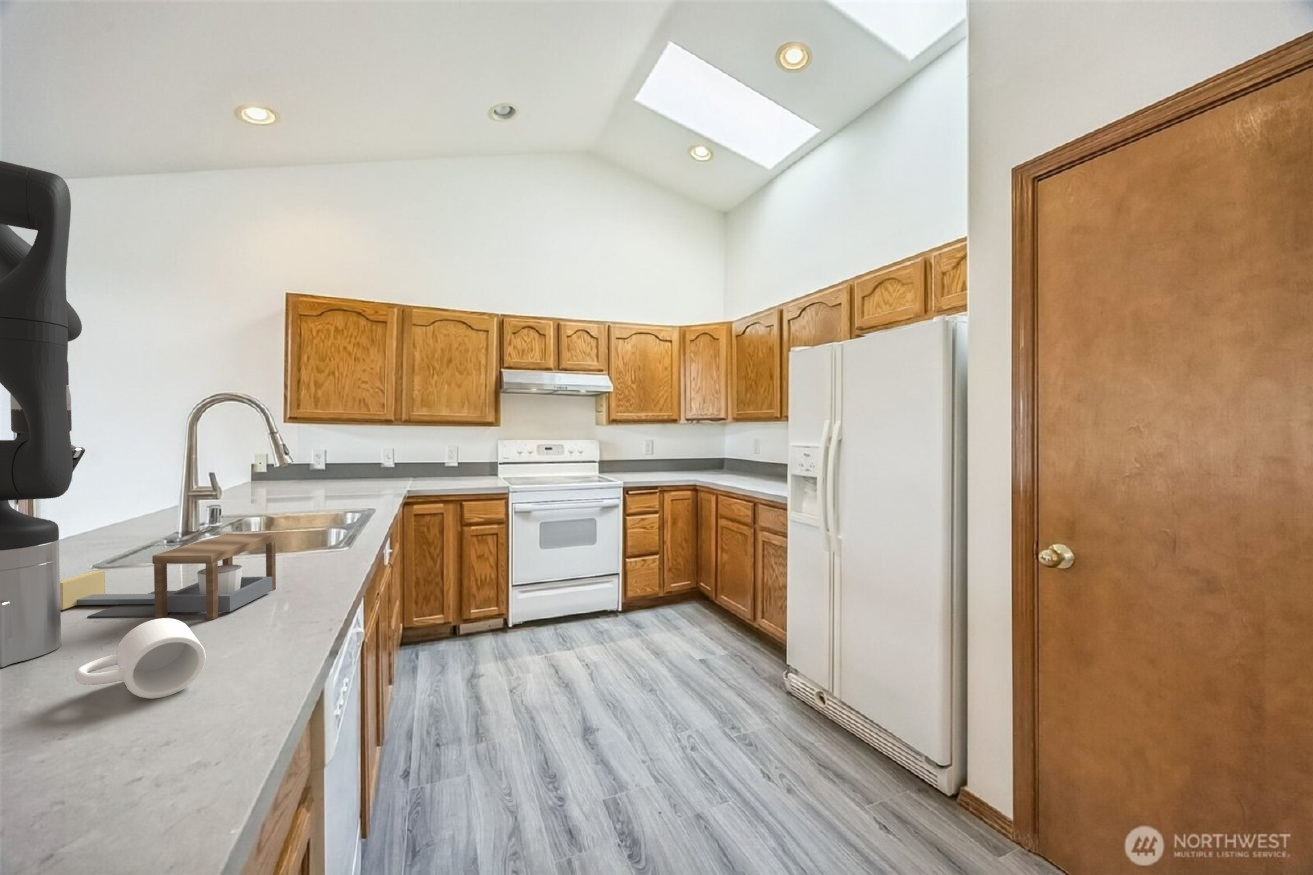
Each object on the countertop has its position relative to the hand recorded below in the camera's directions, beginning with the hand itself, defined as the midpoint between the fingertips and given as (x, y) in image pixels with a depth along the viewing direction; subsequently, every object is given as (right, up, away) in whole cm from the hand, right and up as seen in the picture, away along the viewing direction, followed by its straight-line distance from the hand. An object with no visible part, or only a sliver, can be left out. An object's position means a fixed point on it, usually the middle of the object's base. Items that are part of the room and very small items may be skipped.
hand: (43, 497), depth 100 cm
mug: (+48, -23, -29) cm, 61 cm away
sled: (+21, -21, +2) cm, 30 cm away
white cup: (+32, -22, +3) cm, 38 cm away
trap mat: (+20, -21, +2) cm, 29 cm away
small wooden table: (+32, -22, +3) cm, 38 cm away
